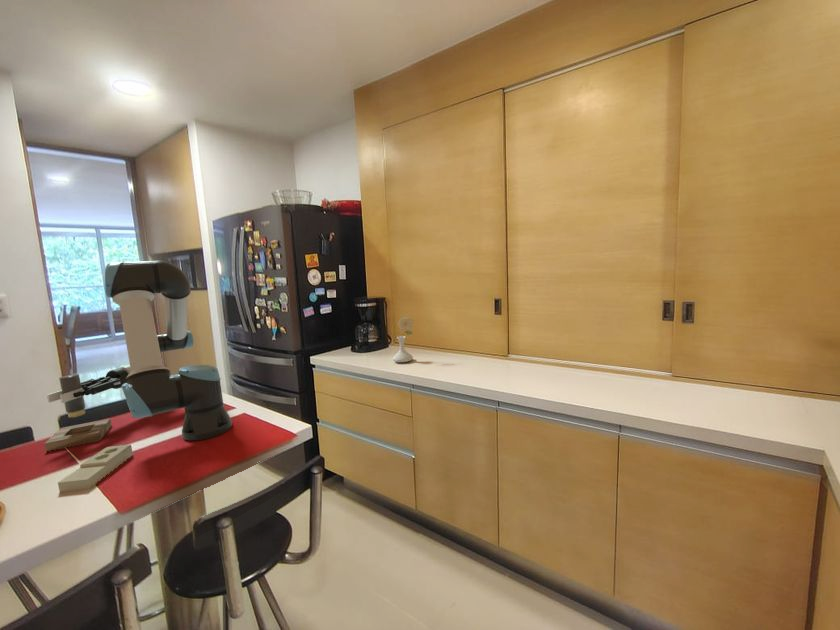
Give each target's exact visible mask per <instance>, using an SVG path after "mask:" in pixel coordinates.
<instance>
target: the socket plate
mask: <svg viewBox="0 0 840 630" xmlns="http://www.w3.org/2000/svg"><path fill="white" fill-rule="evenodd" d="M111 427H112V421H111V418H105V419H101V420H94V421H91V422H85V423H80V424H73V425H70V426H69V425H68V426H64V427H61V428H60V429H58V430H57V431H56V432H55V433H54V434H53V435H52V436H51V437H50V438H49V439H48V440H47V441H45V442H44V446H45V452H46V451H49V452H52V451H51V450H54V451H57V450H56V449H58V450H61V449H62V448H63V449H66V448H65V447H68V448H71V447H70V446H72V447H76V445H77V446H81V444H82V445H86V443H87V444H90V443H96V442H100V441H102V439H103V438H104V437H105V436H106V434H107V433H108V432H109V430H110V429H111Z"/></svg>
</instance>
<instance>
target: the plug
mask: <svg viewBox="0 0 840 630" xmlns="http://www.w3.org/2000/svg"><path fill="white" fill-rule="evenodd" d="M80 377H81V376H80V374H79V373H78V374H77V373H74V374H73V373H72V374H69V375H64V376H60V377H59V383H60V384H59V385H60V389H61V390H62V394H65V393H68V392H71V391H74V390H77V389H80V388H82V387H81V379H80ZM63 404H64V407H65V413H67V416H68V418H77V417H81V416H83V415H85V414H86V403H85V398H84V396H82V397H79V398H76V399H73V400H70V401H67V402H64V403H63Z"/></svg>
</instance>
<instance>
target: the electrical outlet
mask: <svg viewBox="0 0 840 630" xmlns="http://www.w3.org/2000/svg"><path fill="white" fill-rule="evenodd" d="M132 455H133V456H134V452H133V448H132V444H121V445H113V446H107V447H105V448H103V449H101V450H100V451H99V452H97V453H95V454H94V455H93V456H91V457H89V458H88V459H87V460H85V461H84V462H82V463H81V464H80V465H79V466H80V467H79V468H78V469H75V470H74V471H73V472H71V473H70V474H69V475H67V476H65V477H64V478H62V479H61V480H60V481H58V482H57V485H58V490H59V493H65V492H67V491H68V492H75V491H76V490H77V491H83V490H84V491H85V489H86V490H90V489H91V488H92V486H93V485H94V486H95V485H96V484H98V483H99V482H101V479H102V478H103V477H104V478H106V477H107V476H108V475H109V474H111V473H112V472H113V471H115V470H116V469H117V468H119V467H120V466H121V465H122V464H124V463H125V462H126V461H128V460H129V459H130V458H132V457H133V456H132ZM131 456H132V457H131ZM128 458H129V459H128ZM127 459H128V460H127ZM124 461H125V462H124ZM123 462H124V463H123ZM120 464H121V465H120ZM119 465H120V466H119ZM118 466H119V467H118ZM115 468H116V469H115ZM114 469H115V470H114ZM111 471H112V472H111ZM110 472H111V473H110ZM107 474H108V475H107ZM106 475H107V476H106ZM105 476H106V477H105ZM104 478H103V479H104ZM103 479H102V480H103ZM98 481H99V482H98ZM97 482H98V483H97ZM94 486H93V487H94ZM77 491H76V492H77Z"/></svg>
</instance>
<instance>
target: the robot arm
mask: <svg viewBox="0 0 840 630" xmlns="http://www.w3.org/2000/svg"><path fill="white" fill-rule="evenodd" d="M104 269H105V271H104V284H105V285H104V286H105V295H106V297H107V298H111V299H112V302H113V303H114V304H116V305H118V306H119V310H120V316H121V322H122V327H123V333H124V338H125V344H126V351H127V356H128V360H129V361H128V362H129V364H128V365H124V366H121V367H118V368H117V367H116V368H115V369H111V370H109V371H107V373H106V374H105V376H101V377H98V378H91V379H88V380H85V381H82V382H81V381H80V382H81V387H82V388H80V389H77V390H74V391H71V392H68V393H65V394H62V389H61V390H58V391H54V392H51V393H47V394H46V397H47V402H48V403H53V402H56V401H58V400H60V403H61V404H64V402H67V401H70V400H73V399H76V398H79V397H82V396H83V397H84V396H90V395H92V396H93V395H96V394H99V393H103V392H105V391H109V390H112V389H114V390H117V389H122V391H123V395H124V398H125V401H126V403H127V407H128V408H129V412H130V414H131V416H132V417H133V418H134V419H142V418H143V419H144V418H146V417H153V416H156V415H159V414H164V413H168V412H171V411H176V410H180V409H184V413H185V414H184V419H183V424H182V428H181V434H182V439H183V440H185V441H191V442H192V441H203V440H207V439H211V438H214V437H217V436H219V435H222V434H224V433H226V432H227V431H229V430H230V429H231V428H232V426H233V424H232V423H233V422H232V418H231V416H230V414H229V413H228V410H227V409H226V407H225V405H224V400H223V392H222V385H221V377H220V372H219V369H218V368H217V367H216V366H214V365H209V364H208V365H207V364H199V365H197V364H196V365H194V364H193V365H187V366H183V367H179V368H178V371H177V373H173V374H171V370H170V368H169V367H166V366H164V364H163V359H162V354H161V353H164V352H169V351H170V352H171V351H172V352H173V351H178V350H184V349H188V348H191V347H193V346H194V336H193V333H192V331H191V330H188V297H189V296H190V294H191V283H190V280H189V278H188V277H187V275H186V273H185V272H184V271H183V270H182V269H181V268H179V266H176V264H174V263H171V262H169V261H165V260H159V259H158V260H142V261H136V260H135V261H124V260H122V261H117V262H116V261H115V262H109V263H107V264H106V266H105V268H104ZM155 294H161V295H162V297H163V301H164V316H165V327H166V328H165V329H166V331H165V332H166V333H163V334H162V333H161V334H157V329H156V323H155V318H154V313H153V309H152V308H153V307H152V301H154V300H155V298H156V296H155Z"/></svg>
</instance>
